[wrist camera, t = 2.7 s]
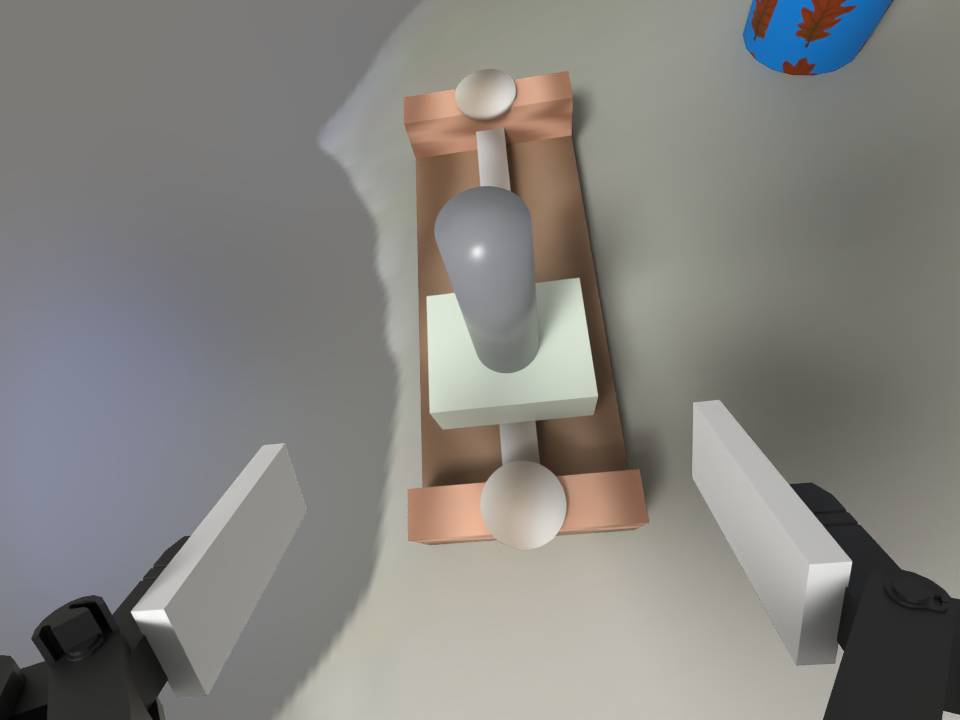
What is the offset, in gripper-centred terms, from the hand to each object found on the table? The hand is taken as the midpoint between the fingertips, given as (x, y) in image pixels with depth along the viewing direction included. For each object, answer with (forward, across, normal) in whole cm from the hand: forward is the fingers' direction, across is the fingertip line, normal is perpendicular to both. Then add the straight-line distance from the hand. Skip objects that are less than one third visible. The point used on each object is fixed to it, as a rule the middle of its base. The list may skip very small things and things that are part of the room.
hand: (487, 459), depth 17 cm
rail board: (+27, 0, -3) cm, 27 cm away
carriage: (+19, 0, -5) cm, 19 cm away
